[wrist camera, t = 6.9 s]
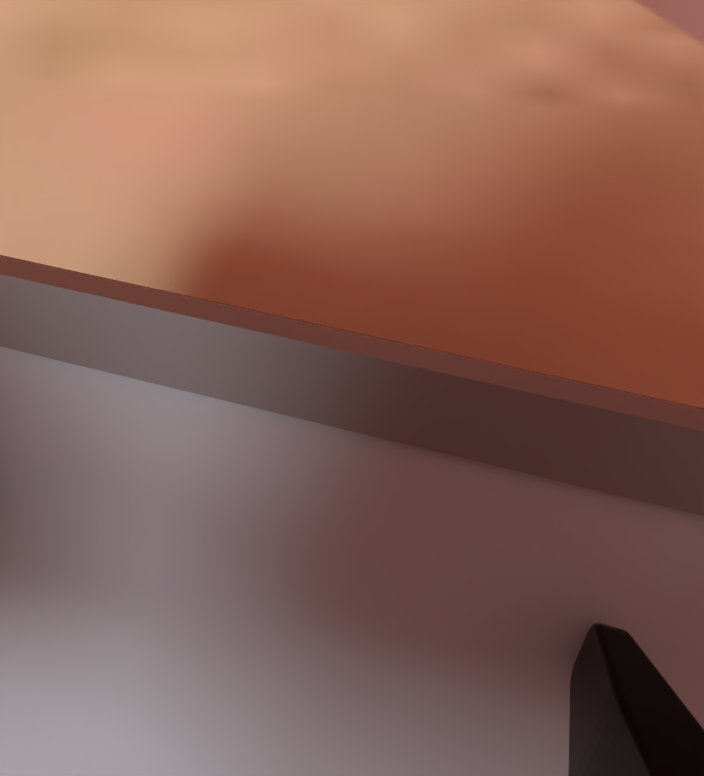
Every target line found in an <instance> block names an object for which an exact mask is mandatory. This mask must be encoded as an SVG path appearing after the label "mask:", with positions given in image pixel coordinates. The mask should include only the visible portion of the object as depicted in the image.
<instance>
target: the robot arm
mask: <svg viewBox="0 0 704 776" xmlns="http://www.w3.org/2000/svg"><path fill="white" fill-rule="evenodd" d="M568 776H704V729H703V728H702V726H701V725H700V724H699V723H698V721H697V720H696V719H695V717H694V716H693V715H692V714H691V712H690V711H689V710H688V708H687V707H686V706H685V705H684V703H683V702H682V701H681V699H680V698H679V697H678V695H677V694H676V693H675V692H674V690H673V689H672V688H671V686H670V685H669V684H668V683H667V681H666V680H665V679H664V677H663V676H662V675H661V674H660V672H659V671H658V670H657V668H656V667H655V666H654V664H653V663H652V662H651V661H650V659H649V658H648V657H647V655H646V654H645V653H644V652H643V650H642V649H641V648H640V646H639V645H638V644H637V643H636V641H635V640H634V639H633V637H632V636H631V635H630V634H629V633H628V632H627V631H625V630H623V629H620V628H616V627H613V626H609V625H605V624H601V623H595V624H593V625H592V626H591V627H590V628H589V630H588V632H587V635H586V637H585V640H584V642H583V644H582V647H581V649H580V652H579V654H578V656H577V659H576V661H575V663H574V666H573V669H572V674H571V680H570V715H569V770H568Z"/></svg>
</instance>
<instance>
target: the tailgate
mask: <svg viewBox="0 0 704 776" xmlns="http://www.w3.org/2000/svg"><path fill="white" fill-rule="evenodd" d="M595 623H601V624H605V625H609V626H613V627H616V628H620V629H623V630H625V631H627V632H628V633H629V634H630V635H631V636H632V637H633V639H634V640H635V641H636V643H637V644H638V645H639V646H640V648H641V649H642V650H643V652H644V653H645V654H646V655H647V657H648V658H649V659H650V661H651V662H652V663H653V664H654V666H655V667H656V668H657V670H658V671H659V672H660V674H661V675H662V676H663V677H664V679H665V680H666V681H667V683H668V684H669V685H670V686H671V688H672V689H673V690H674V692H675V693H676V694H677V695H678V697H679V698H680V699H681V701H682V702H683V703H684V705H685V706H686V707H687V708H688V710H689V711H690V712H691V714H692V715H693V716H694V717H695V719H696V720H697V721H698V723H699V724H700V725H701V726H702V728H703V729H704V409H702V408H698V407H693V406H689V405H684V404H679V403H675V402H670V401H666V400H661V399H657V398H652V397H647V396H643V395H638V394H634V393H629V392H625V391H620V390H615V389H611V388H606V387H602V386H597V385H593V384H588V383H583V382H579V381H574V380H570V379H565V378H560V377H556V376H551V375H547V374H542V373H538V372H533V371H528V370H524V369H519V368H515V367H510V366H506V365H501V364H496V363H492V362H487V361H483V360H478V359H474V358H469V357H464V356H460V355H455V354H451V353H446V352H442V351H437V350H432V349H428V348H423V347H419V346H414V345H410V344H405V343H400V342H396V341H391V340H387V339H382V338H378V337H373V336H368V335H364V334H359V333H355V332H350V331H345V330H341V329H336V328H332V327H327V326H323V325H318V324H313V323H309V322H304V321H300V320H295V319H291V318H286V317H281V316H277V315H272V314H268V313H263V312H259V311H254V310H249V309H245V308H240V307H236V306H231V305H227V304H222V303H217V302H213V301H208V300H204V299H199V298H195V297H190V296H185V295H181V294H176V293H172V292H167V291H163V290H158V289H153V288H149V287H144V286H140V285H135V284H130V283H126V282H121V281H117V280H112V279H108V278H103V277H98V276H94V275H89V274H85V273H80V272H76V271H71V270H66V269H62V268H57V267H53V266H48V265H44V264H39V263H34V262H30V261H25V260H21V259H16V258H12V257H7V256H2V255H0V776H568V770H569V715H570V680H571V674H572V669H573V666H574V663H575V661H576V659H577V656H578V654H579V652H580V649H581V647H582V644H583V642H584V640H585V637H586V635H587V632H588V630H589V628H590V627H591V626H592V625H593V624H595Z"/></svg>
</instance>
